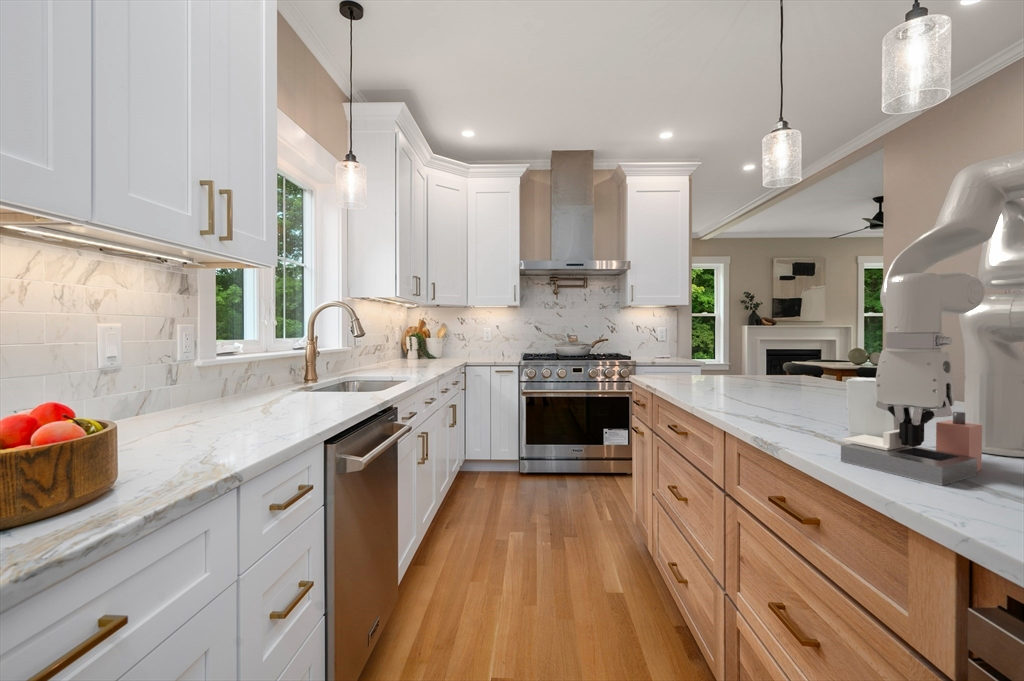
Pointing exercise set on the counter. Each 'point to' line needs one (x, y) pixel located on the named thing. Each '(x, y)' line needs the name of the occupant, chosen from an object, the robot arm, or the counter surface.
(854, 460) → the socket
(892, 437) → the cream stepped block
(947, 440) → the plug
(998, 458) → the counter surface
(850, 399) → the skincare box
